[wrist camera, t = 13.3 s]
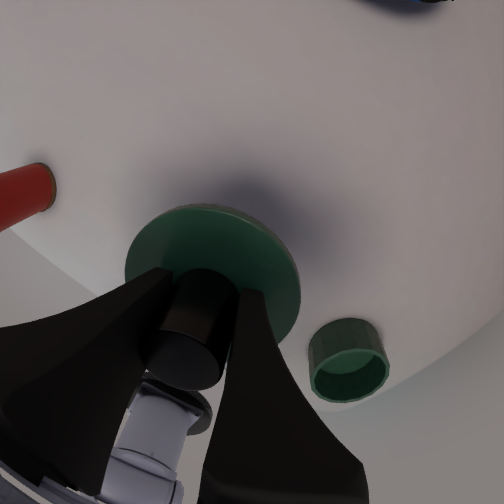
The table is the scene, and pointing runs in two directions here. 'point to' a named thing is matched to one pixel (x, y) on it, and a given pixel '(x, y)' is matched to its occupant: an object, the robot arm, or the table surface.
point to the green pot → (347, 361)
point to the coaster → (51, 185)
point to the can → (23, 194)
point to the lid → (209, 288)
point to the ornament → (429, 1)
